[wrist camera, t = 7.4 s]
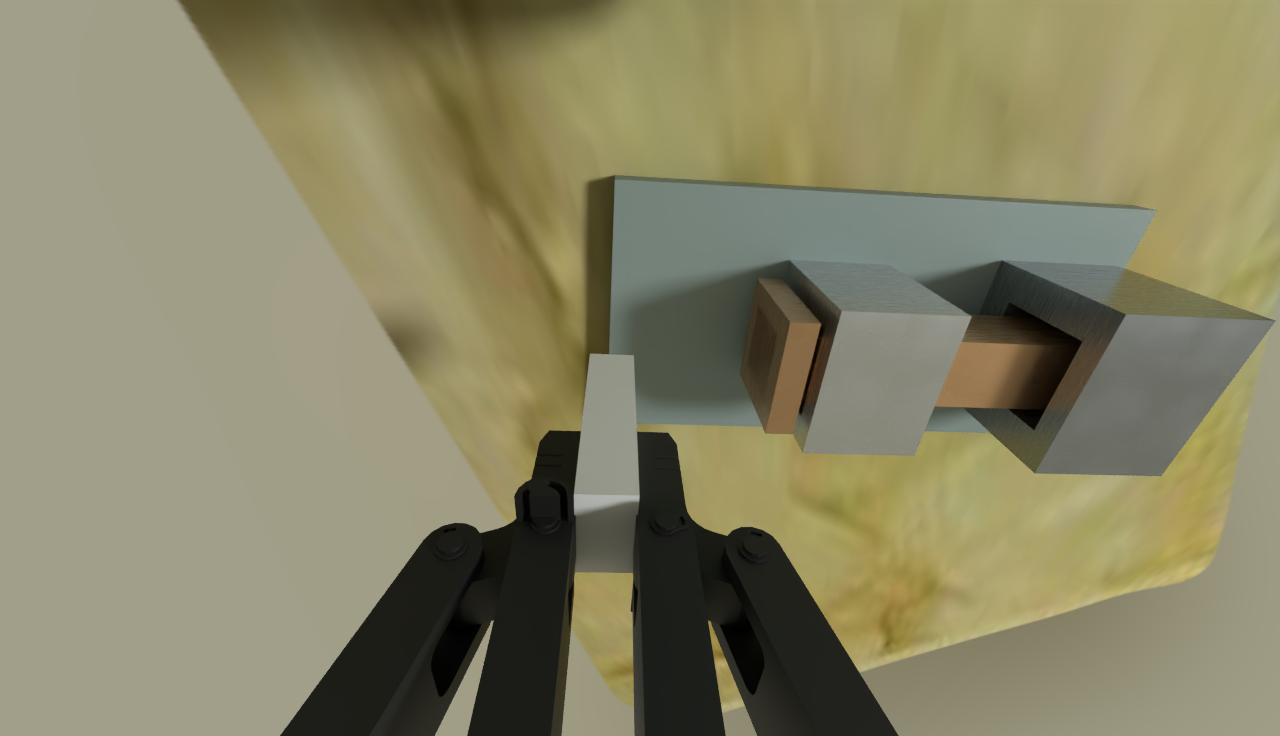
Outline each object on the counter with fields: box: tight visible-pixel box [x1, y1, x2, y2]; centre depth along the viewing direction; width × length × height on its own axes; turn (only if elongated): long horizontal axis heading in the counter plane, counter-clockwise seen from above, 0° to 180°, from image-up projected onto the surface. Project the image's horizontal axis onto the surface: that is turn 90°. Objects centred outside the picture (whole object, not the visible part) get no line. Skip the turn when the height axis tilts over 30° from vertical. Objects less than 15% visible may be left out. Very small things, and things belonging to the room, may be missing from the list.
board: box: [609, 175, 1157, 433], centre depth 26 cm, size 13×26×1 cm, turn 87°
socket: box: [963, 260, 1275, 476], centre depth 23 cm, size 8×6×7 cm
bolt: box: [740, 278, 1083, 434], centre depth 23 cm, size 5×15×5 cm, turn 87°
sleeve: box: [785, 260, 972, 456], centre depth 23 cm, size 7×5×6 cm
